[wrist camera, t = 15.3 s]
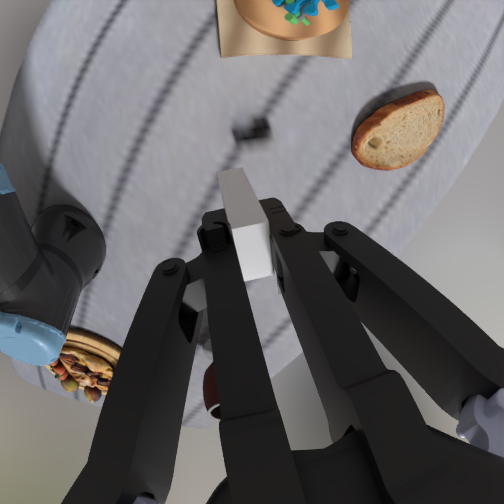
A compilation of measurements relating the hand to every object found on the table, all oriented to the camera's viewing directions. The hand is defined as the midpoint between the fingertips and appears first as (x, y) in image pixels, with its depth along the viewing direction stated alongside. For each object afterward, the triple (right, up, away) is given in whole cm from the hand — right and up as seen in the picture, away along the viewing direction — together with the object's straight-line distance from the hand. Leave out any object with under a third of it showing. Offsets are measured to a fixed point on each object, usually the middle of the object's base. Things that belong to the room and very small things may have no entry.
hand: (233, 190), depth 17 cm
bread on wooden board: (+5, +30, +9) cm, 32 cm away
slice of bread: (+26, +18, +22) cm, 39 cm away
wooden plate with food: (-44, -34, +46) cm, 72 cm away
